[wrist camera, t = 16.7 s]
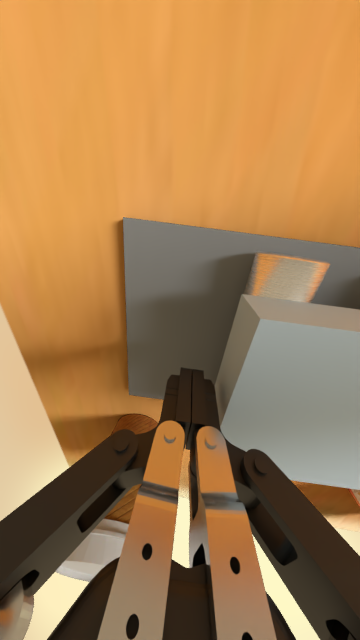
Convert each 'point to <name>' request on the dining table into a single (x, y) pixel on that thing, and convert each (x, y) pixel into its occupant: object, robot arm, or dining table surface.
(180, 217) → the dining table surface
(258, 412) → the slab
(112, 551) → the disposable coffee cup
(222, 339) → the mat
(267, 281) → the bed rollers
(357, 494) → the cracker box
